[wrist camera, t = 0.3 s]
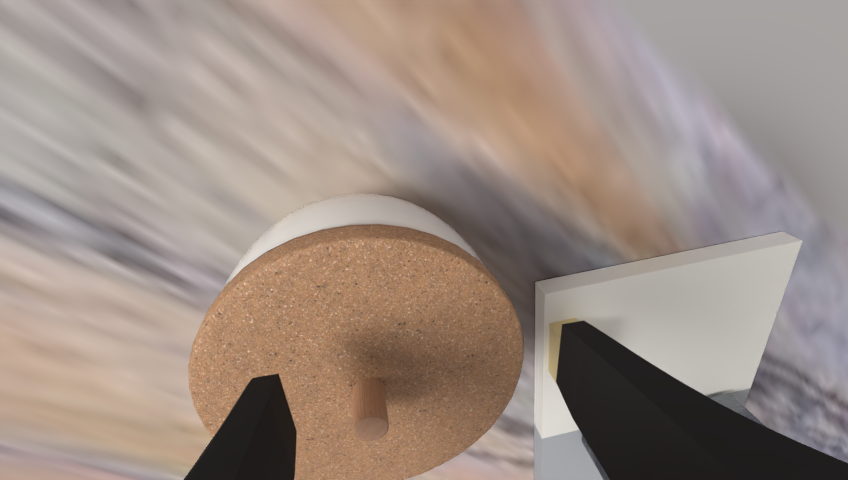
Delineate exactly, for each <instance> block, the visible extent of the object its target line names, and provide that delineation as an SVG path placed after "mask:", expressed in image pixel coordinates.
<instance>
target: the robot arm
mask: <svg viewBox="0 0 848 480" xmlns="http://www.w3.org/2000/svg"><path fill="white" fill-rule="evenodd" d="M556 383H557V385H558V388H559V390H560V392H561V394H562V397H563V399H564V401H565V403H566V405H567V408H568V410H569V412H570V414H571V416H572V418H573V420H574V422H575V423H576V425H577V427H578V428H579V430H580V432H581V433H582V435H583V437H584V438H585V440H586V442H587V443H588V445H589V446H590V448H591V450H592V451H593V453H594V455H595V456H596V458H597V460H598V461H599V463H600V464H601V466H602V468H603V469H604V471H605V473H606V474H607V476H608V477H609V479H610V480H848V463H846V462H843V461H841V460H838V459H836V458H834V457H831V456H829V455H827V454H825V453H822V452H820V451H818V450H815V449H813V448H811V447H808V446H806V445H804V444H802V443H799V442H797V441H795V440H793V439H790V438H788V437H786V436H784V435H782V434H780V433H777V432H775V431H773V430H771V429H769V428H767V427H765V426H763V425H761V424H759V423H757V422H755V421H753V420H751V419H749V418H747V417H745V416H743V415H741V414H739V413H737V412H735V411H733V410H731V409H729V408H727V407H725V406H723V405H722V404H720V403H718V402H716V401H714V400H712V399H711V398H709V397H707V396H705V395H704V394H702V393H700V392H698V391H696V390H695V389H693V388H691V387H689V386H688V385H686V384H684V383H683V382H681V381H679V380H677V379H676V378H674V377H672V376H671V375H669V374H667V373H666V372H664V371H663V370H661V369H659V368H658V367H656V366H655V365H653V364H651V363H650V362H648V361H647V360H645V359H643V358H642V357H640V356H639V355H637V354H636V353H634V352H633V351H631V350H629V349H628V348H626V347H625V346H623V345H622V344H620V343H619V342H617V341H616V340H614V339H613V338H611V337H609V336H608V335H606V334H605V333H603V332H602V331H600V330H599V329H597V328H596V327H594V326H592V325H591V324H589V323H587V322H586V321H578V322H572V323H566V324H562V329H561V339H560V348H559V358H558V367H557V377H556ZM296 437H297V431H296V427H295V424H294V421H293V418H292V415H291V411H290V408H289V405H288V402H287V399H286V396H285V392H284V389H283V386H282V383H281V380H280V376H279V373H278V374H273V375H267V376H261V377H255V378H252V379H251V380H250V382H249V383H248V384H247V386H246V388H245V389H244V391H243V392H242V394H241V395H240V397H239V399H238V400H237V402H236V403H235V405H234V406H233V408H232V410H231V411H230V413H229V414H228V416H227V417H226V419H225V420H224V422H223V423H222V425H221V427H220V428H219V430H218V431H217V433H216V434H215V436H214V437H213V438H212V440H211V441H210V443H209V444H208V446H207V447H206V449H205V450H204V452H203V453H202V455H201V456H200V457H199V459H198V460H197V462H196V463H195V465H194V466H193V468H192V469H191V470H190V472H189V473H188V474H187V476H186V477H185V478H184V480H294V477H295V462H296Z"/></svg>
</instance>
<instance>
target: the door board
mask: <svg viewBox="0 0 848 480" xmlns="http://www.w3.org/2000/svg"><path fill="white" fill-rule="evenodd" d="M802 241H803V240H800V239H798V238H796V237H794V236H792V235H789V234H787V233H785V232H783V231H781V232H777V233H772V234H767V235H762V236H757V237H752V238H747V239H742V240H738V241H733V242H728V243H723V244H718V245H713V246H708V247H703V248H698V249H694V250H689V251H684V252H679V253H674V254H669V255H664V256H659V257H654V258H650V259H645V260H640V261H635V262H630V263H625V264H620V265H615V266H610V267H606V268H601V269H596V270H591V271H586V272H581V273H576V274H571V275H567V276H562V277H557V278H552V279H547V280H542V281H537V282H535V398H534V480H603V478H602V476H601V475H600V473H599V471H598V469H597V468H596V466H595V464H594V462H593V461H592V459H591V457H590V456H589V454H588V452H587V450H586V449H585V447H584V445H583V443H582V433H581V432H580V430H579V428H578V427H577V425H576V423H575V422H574V420H573V418H572V416H571V414H570V412H569V410H568V408H567V405H566V403H565V401H564V399H563V397H562V394H561V392H560V390H559V388H558V385H557V383H556V377H557V367H558V358H559V348H560V339H561V329H562V324H566V323H572V322H578V321H586V322H587V323H589V324H591V325H592V326H594V327H596V328H597V329H599V330H600V331H602V332H603V333H605V334H606V335H608V336H609V337H611V338H613V339H614V340H616V341H617V342H619V343H620V344H622V345H623V346H625V347H626V348H628V349H629V350H631V351H633V352H634V353H636V354H637V355H639V356H640V357H642V358H643V359H645V360H647V361H648V362H650V363H651V364H653V365H655V366H656V367H658V368H659V369H661V370H663V371H664V372H666V373H667V374H669V375H671V376H672V377H674V378H676V379H677V380H679V381H681V382H683V383H684V384H686V385H688V386H689V387H691V388H693V389H695V390H696V391H698V392H700V393H702V394H704V395H705V396H707V397H709V398H710V397H714V396H718V395H722V394H726V393H730V394H731V395H732V396H733V397H734V398H736V399H737V400H738V401H739V402H740V403H741V404H742V405H743V406H745V403H746V400H747V397H748V394H749V391H750V389H751V386H752V383H753V380H754V377H755V374H756V372H757V369H758V366H759V363H760V360H761V357H762V355H763V352H764V349H765V346H766V343H767V340H768V338H769V335H770V332H771V329H772V326H773V323H774V321H775V318H776V315H777V312H778V309H779V306H780V304H781V301H782V298H783V295H784V292H785V289H786V287H787V284H788V281H789V278H790V275H791V272H792V270H793V267H794V264H795V261H796V258H797V255H798V253H799V250H800V247H801V244H802Z"/></svg>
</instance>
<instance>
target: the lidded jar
mask: <svg viewBox="0 0 848 480" xmlns="http://www.w3.org/2000/svg"><path fill="white" fill-rule="evenodd" d="M523 345H524V340H523V335H522V330H521V325H520V321H519V318H518V316H517V314H516V311H515V309H514V306H513V304H512V302H511V301H510V299H509V297H508V296H507V294H506V293H505V291H504V290H503V288H502V287H501V285H500V284H499V283H498V281H497V280H496V278H495V277H494V275H493V274H492V273H491V272H490V271H489V270H488V269H487V268H486V267H485V266H484V264H483V263H482V262H481V260H480V259H479V257H478V256H477V254H476V253H475V252H474V250H473V249H472V248H471V246H470V245H469V244H468V243H467V242H466V241H465V240H464V239H463V238H462V237H461V236H460V235H459V234H458V233H457V232H456V231H455V230H454V229H453V228H452V227H451V226H449V225H448V224H447V223H445V222H444V221H442V220H441V219H439V218H438V217H437V216H435V215H434V214H432V213H431V212H429V211H428V210H426V209H424V208H422V207H419V206H417V205H415V204H413V203H411V202H408V201H405V200H402V199H398V198H395V197H392V196H385V195H378V194H346V195H340V196H333V197H328V198H325V199H322V200H319V201H316V202H312V203H310V204H308V205H306V206H303V207H301V208H299V209H297V210H295V211H293V212H291V213H290V214H289V215H287V216H286V217H284V218H283V219H282V220H280V221H279V222H277V223H276V224H275V225H273V226H272V227H271V228H270V229H268V230H267V231H266V232H265V233H264V234H263V235H262V236H261V237H260V238H259V239H258V240H257V241H256V242H255V243H254V244H253V245H252V246H251V248H250V249H249V250H248V251H247V252H246V254H245V255H244V256H243V258H242V259H241V261H240V262H239V263H238V265H237V266H236V268H235V269H234V271H233V272H232V273H231V275H230V277H229V279H228V281H227V282H226V284H225V286H224V288H223V290H222V291H221V292H220V294H219V295H218V297H217V298H216V300H215V301H214V302H213V304H212V305H211V307H210V308H209V310H208V312H207V313H206V315H205V318H204V320H203V322H202V324H201V327H200V329H199V331H198V333H197V336H196V338H195V340H194V343H193V346H192V351H191V356H190V361H189V388H190V392H191V396H192V399H193V403H194V407H195V409H196V411H197V413H198V415H199V417H200V419H201V421H202V422H203V424H204V426H205V428H206V429H207V430H208V432H209V433H210V434H211V436H212V437H214V436H215V434H216V433H217V431H218V430H219V428H220V427H221V425H222V423H223V422H224V420H225V419H226V417H227V416H228V414H229V413H230V411H231V410H232V408H233V406H234V405H235V403H236V402H237V400H238V399H239V397H240V395H241V394H242V392H243V391H244V389H245V388H246V386H247V384H248V383H249V382H250V380H251V379H252V378H255V377H261V376H267V375H273V374H278V373H279V376H280V380H281V383H282V386H283V389H284V392H285V396H286V399H287V402H288V405H289V408H290V411H291V415H292V418H293V421H294V424H295V427H296V431H297V437H296V462H295V477H294V480H404V479H407V478H410V477H413V476H416V475H419V474H422V473H424V472H426V471H428V470H431V469H433V468H435V467H437V466H439V465H441V464H443V463H445V462H447V461H448V460H450V459H452V458H454V457H455V456H457V455H459V454H460V453H462V452H463V451H464V450H465V449H467V448H468V447H469V446H471V445H472V444H473V443H475V442H476V441H477V440H478V439H479V438H480V437H481V436H482V435H483V434H485V433H486V432H487V431H488V430H489V429H490V428H491V427H492V425H493V424H494V423H495V422H496V420H497V419H498V418H499V417H500V415H501V414H502V412H503V411H504V409H505V408H506V406H507V404H508V403H509V401H510V400H511V398H512V396H513V393H514V390H515V388H516V385H517V383H518V380H519V377H520V373H521V368H522V363H523Z"/></svg>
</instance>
